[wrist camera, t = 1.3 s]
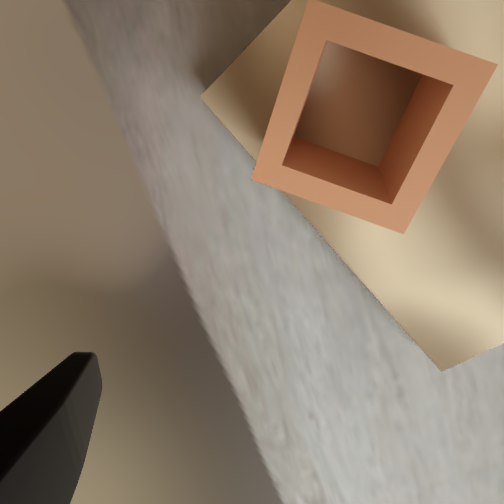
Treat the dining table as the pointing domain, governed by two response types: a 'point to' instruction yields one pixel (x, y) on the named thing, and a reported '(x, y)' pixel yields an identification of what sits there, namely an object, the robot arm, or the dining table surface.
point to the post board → (372, 151)
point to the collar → (404, 139)
